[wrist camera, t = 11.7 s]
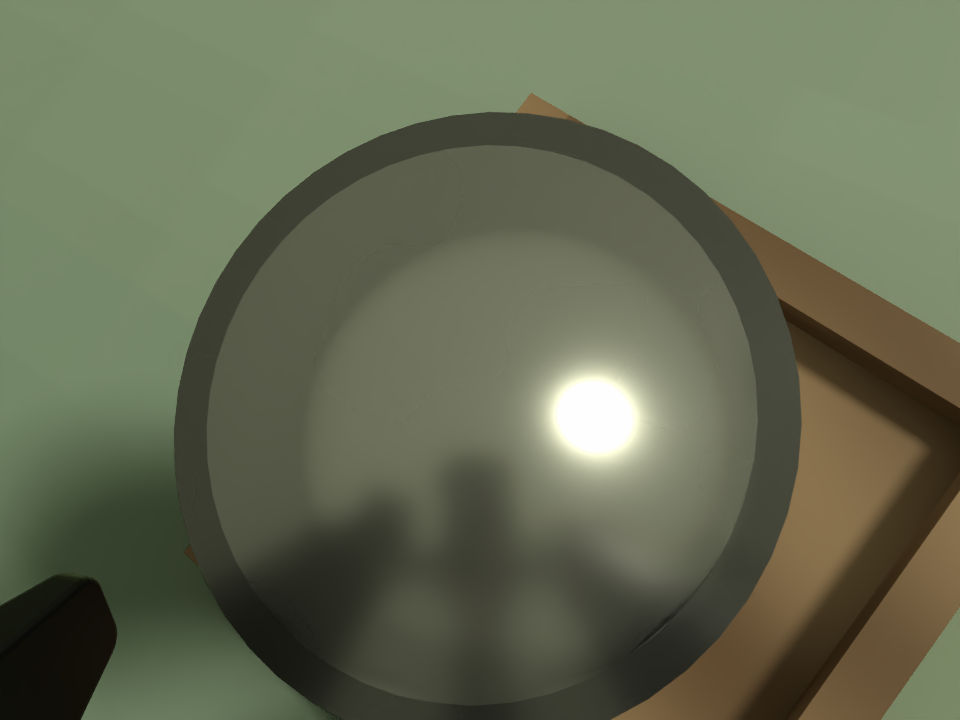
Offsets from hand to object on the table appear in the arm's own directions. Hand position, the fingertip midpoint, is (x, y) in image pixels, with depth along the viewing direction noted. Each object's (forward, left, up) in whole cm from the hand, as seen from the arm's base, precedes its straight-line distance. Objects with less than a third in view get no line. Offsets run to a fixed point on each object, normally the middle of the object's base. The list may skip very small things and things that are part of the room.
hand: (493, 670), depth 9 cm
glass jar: (+2, +1, -9) cm, 9 cm away
